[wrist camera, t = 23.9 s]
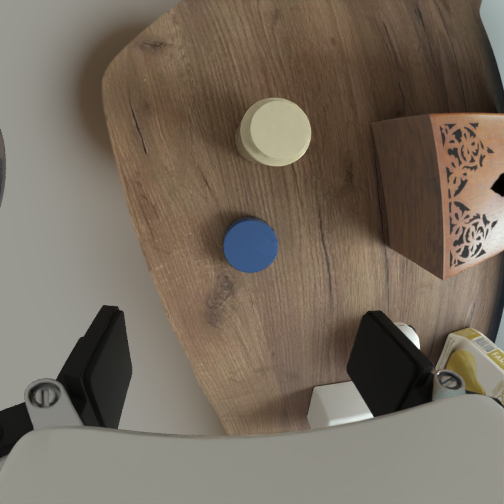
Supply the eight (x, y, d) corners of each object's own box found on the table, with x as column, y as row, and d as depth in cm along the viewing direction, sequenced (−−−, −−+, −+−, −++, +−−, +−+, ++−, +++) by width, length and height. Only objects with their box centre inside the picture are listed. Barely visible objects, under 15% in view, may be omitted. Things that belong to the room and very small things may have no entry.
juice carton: (445, 329, 37) (540, 422, 15) (474, 321, 38) (562, 397, 15) (429, 373, 40) (502, 466, 17) (458, 363, 41) (530, 442, 18)
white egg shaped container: (402, 344, 37) (428, 374, 30) (357, 363, 36) (379, 398, 30) (402, 285, 33) (435, 312, 26) (352, 305, 33) (379, 338, 26)
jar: (224, 146, 26) (226, 139, 17) (253, 104, 25) (269, 79, 16) (268, 174, 28) (291, 181, 19) (295, 133, 26) (331, 122, 18)
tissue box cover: (389, 247, 31) (442, 280, 22) (370, 122, 27) (429, 113, 17) (507, 205, 32) (552, 221, 23) (499, 115, 27) (547, 117, 18)
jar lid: (262, 274, 31) (264, 280, 29) (215, 256, 29) (214, 262, 28) (283, 228, 29) (287, 232, 28) (235, 208, 28) (236, 211, 27)
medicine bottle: (306, 416, 39) (327, 478, 28) (313, 385, 37) (340, 452, 25) (348, 409, 40) (375, 465, 28) (359, 378, 38) (393, 437, 26)
